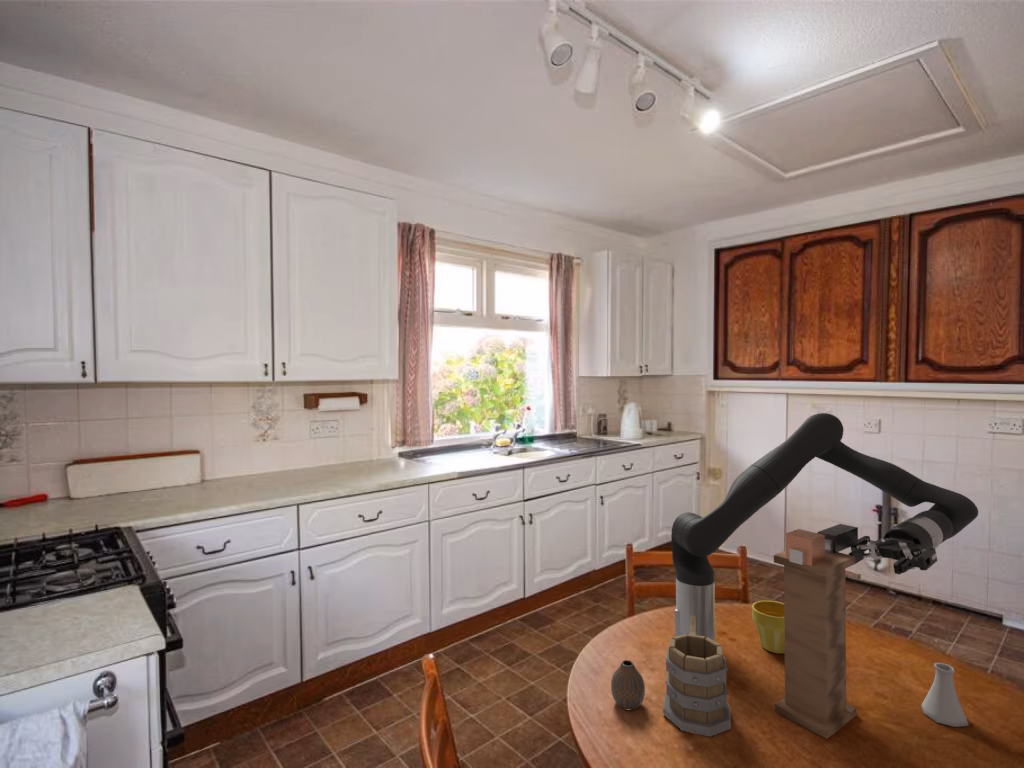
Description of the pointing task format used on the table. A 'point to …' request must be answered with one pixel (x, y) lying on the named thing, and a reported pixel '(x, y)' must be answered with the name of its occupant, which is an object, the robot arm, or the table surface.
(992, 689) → the table surface
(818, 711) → the walnut stand
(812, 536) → the orange and black bar
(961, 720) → the flask
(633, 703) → the vase
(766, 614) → the plant pot
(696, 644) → the tankard
